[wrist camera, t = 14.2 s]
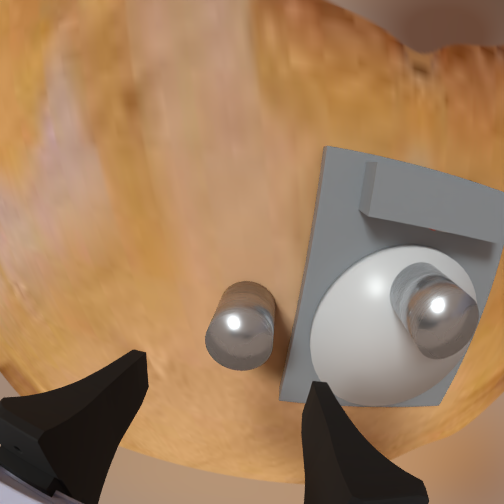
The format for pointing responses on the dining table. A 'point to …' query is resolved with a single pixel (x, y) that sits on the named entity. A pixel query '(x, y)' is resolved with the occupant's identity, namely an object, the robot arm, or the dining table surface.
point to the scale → (384, 276)
